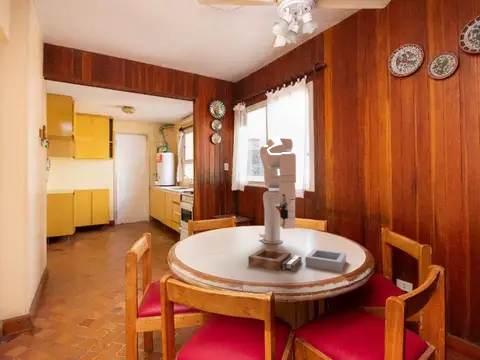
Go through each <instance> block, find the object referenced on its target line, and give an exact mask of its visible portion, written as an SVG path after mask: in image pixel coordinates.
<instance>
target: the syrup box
mask: <svg viewBox="0 0 480 360" xmlns="http://www.w3.org/2000/svg"><path fill="white" fill-rule="evenodd" d="M283 203H287V202H286V200H285V199H284V202H283ZM285 206H286V205H285ZM287 210H288V218H287V219H284V218H281V217H280V228H282V229H283V230H284V229H287V230H288V229H289V230H291V229H296V198H295V197H291V202H290V204H288V207H287Z"/></svg>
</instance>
